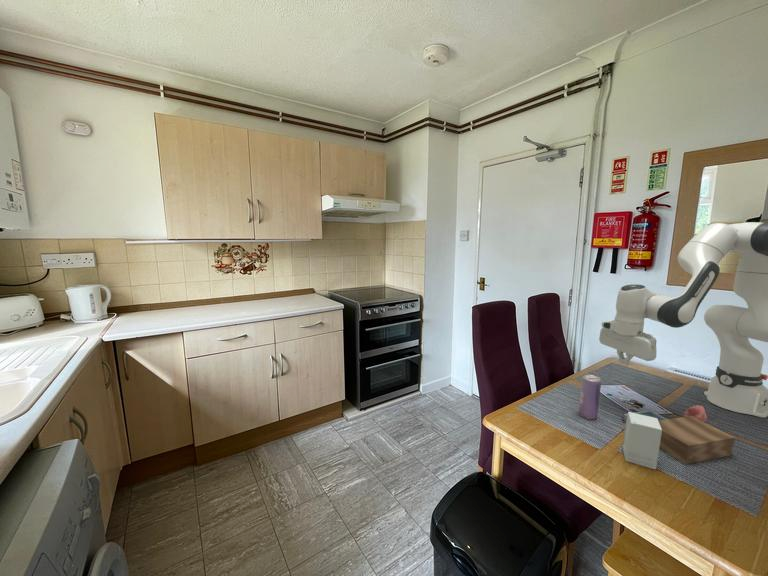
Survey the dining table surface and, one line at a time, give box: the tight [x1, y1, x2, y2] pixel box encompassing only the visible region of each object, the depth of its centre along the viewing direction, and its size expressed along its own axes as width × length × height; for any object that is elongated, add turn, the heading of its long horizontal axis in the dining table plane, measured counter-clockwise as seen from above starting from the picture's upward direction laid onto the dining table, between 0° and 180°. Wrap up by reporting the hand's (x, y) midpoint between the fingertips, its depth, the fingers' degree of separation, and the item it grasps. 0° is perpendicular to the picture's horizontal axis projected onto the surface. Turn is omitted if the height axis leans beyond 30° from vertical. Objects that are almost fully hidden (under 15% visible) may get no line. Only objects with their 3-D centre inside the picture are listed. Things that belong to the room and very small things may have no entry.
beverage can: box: [578, 374, 602, 420], centre depth 119 cm, size 6×6×15 cm
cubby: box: [659, 416, 736, 465], centre depth 102 cm, size 18×12×6 cm, turn 102°
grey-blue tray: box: [622, 409, 668, 423], centre depth 109 cm, size 12×19×2 cm, turn 12°
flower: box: [683, 404, 708, 423], centre depth 115 cm, size 8×8×6 cm
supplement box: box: [622, 411, 662, 470], centre depth 96 cm, size 7×7×13 cm
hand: (623, 363), depth 123 cm, fingers closed
